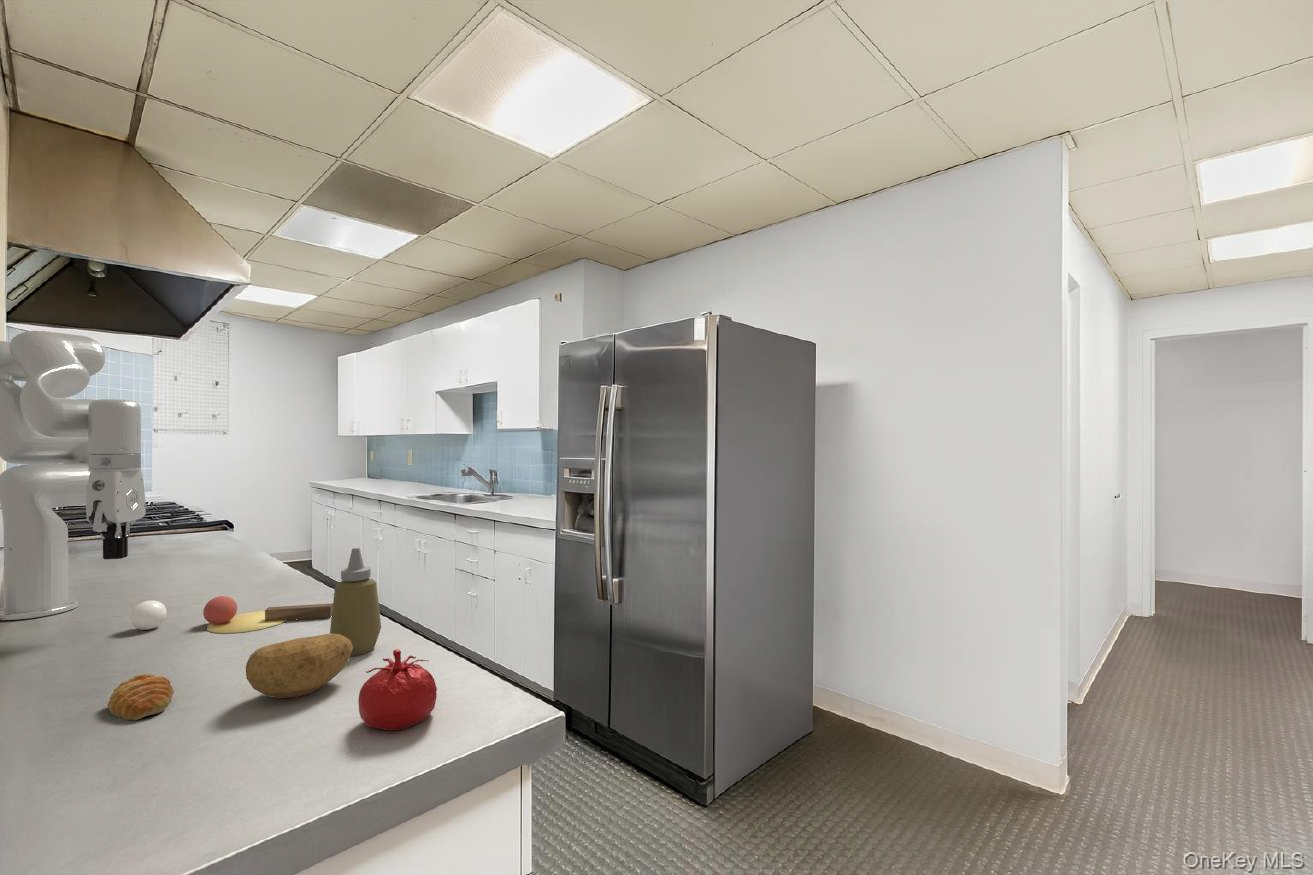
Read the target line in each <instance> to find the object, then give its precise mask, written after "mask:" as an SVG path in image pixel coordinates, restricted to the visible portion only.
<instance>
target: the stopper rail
mask: <svg viewBox="0 0 1313 875" xmlns="http://www.w3.org/2000/svg"><path fill="white" fill-rule="evenodd" d="M332 609H333V602H332V603H317V604H299V605H298V604H297V605H286V606H285V605H284V606H269V607H267V608H266V609H264V611H265V621H278V620H293V621H297V620H296V619H308V620H320V619H321V620H322V618H324V619H331V618H332V617H331V616H332ZM330 617H331V618H330Z"/></svg>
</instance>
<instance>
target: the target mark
mask: <svg viewBox="0 0 1313 875" xmlns="http://www.w3.org/2000/svg"><path fill="white" fill-rule="evenodd" d="M285 621H286V620H278V621H265V610H260V611H259V610H258V611H252V612H244V613H239V614H235V616H234V617H233V618H232V619H231V620H230V621H228V622H227V623H224V624H218V625H216V624H211V623H209V624H208V625H207V626H206V630H207V631H208V632H210V633H214V634H241V633H247V632H248V631H249V632H254V631H260V630H264V629H269V628H272V627H271V626H273V627H275V626H274V625H276V626H278V625H281V624H283V622H284V623H286V622H287V621H286V622H285ZM268 627H269V628H268ZM249 632H248V633H249Z"/></svg>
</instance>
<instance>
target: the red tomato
mask: <svg viewBox="0 0 1313 875" xmlns="http://www.w3.org/2000/svg"><path fill="white" fill-rule="evenodd" d="M392 655H393V658H394V661H393V660H392V659H391V658H384V657H382V661H383V662H388V664H387V665H386V666H384V667H373V668H372V669H370V670H368V671H367V670H366V671H364V673H366V674H367V673H371V672H373V671H375V670H379V671H378V672H376V673H375V674H372V676H370V677H369V678H368V679H367V680H366V681H365V682H364V683H363V685H361V688H360V690H359V695H358V702H357V703H358V714H359V716H360V719H361V720H362V721H363V722H364V723H365V725H367V726H369V727H370V728H374V729H380V730H386V731H398V730H399V731H400V730H404V729H406V728H409V727H411V726H414V725H416V724H419V723H421V722H422V721H423V720H425V719H427V717H429V716H430V715H431V713H432V712H433V711H434V709H435V707H436V702H437V697H438V696H437V692H438V691H437V690H438V688H437V684H436V681H435V678H434V677H433V675H432V673H431V672H430V671H428V670H427V669H425V668H424V667H423V666H421V665H420V664H418V663H416V662H430V660H425V659H417V660H415V659H416V656H413V655H409V656H407V657H406V659H404V660H402V661H401V659H402V651H401V650H400V649H394V650H393V651H392ZM410 659H414V661H412V662H410V663H409V660H410ZM407 662H408V663H407Z"/></svg>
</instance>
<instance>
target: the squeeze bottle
mask: <svg viewBox="0 0 1313 875" xmlns="http://www.w3.org/2000/svg"><path fill="white" fill-rule="evenodd" d="M362 556H363V555H362V552H361V548H360V547H353V548H351V552H350V557H349V562H348V565H347V568H344V569H342V570H340V579H341V581H339V582H338V583H337V584H335V585H334V591H333V601H332V603H333V609H332V617H331V618H330V628H329V634H340V635H343V636H345V637H347V638H348V639H349V640H350V641H351V643H352V645H353V649H352V652H351V654H350V656H351V657H352V656H358V655H363V654H366V653H368V652H371V651H372V650H374V649H375V647H376V645H377V642H378V639H379V638H378V637H379V635H380V633H381V629H382V622H381V620H382V619H381V612H380V611H381V610H380V603H379V596H378V594H379V593H378V587H377V586H378V584H377V581H376V580H374V579H373V578H371V572H372V571H371V570H372V569H371V567H370V566H365V564H364V561H363V557H362Z"/></svg>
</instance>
